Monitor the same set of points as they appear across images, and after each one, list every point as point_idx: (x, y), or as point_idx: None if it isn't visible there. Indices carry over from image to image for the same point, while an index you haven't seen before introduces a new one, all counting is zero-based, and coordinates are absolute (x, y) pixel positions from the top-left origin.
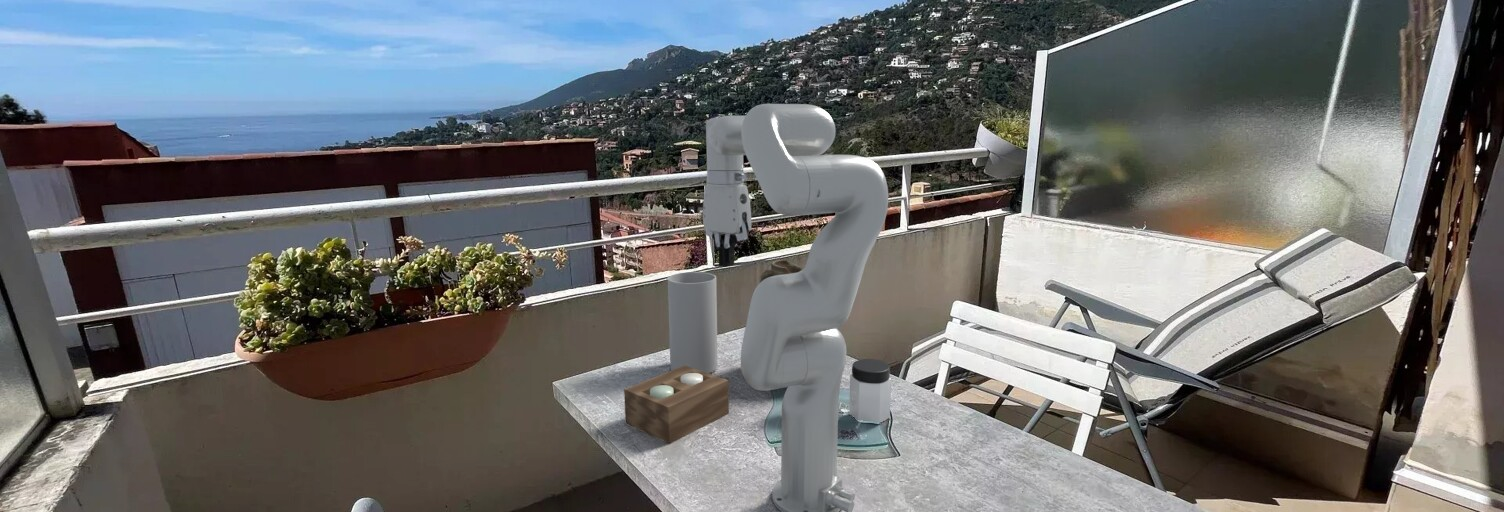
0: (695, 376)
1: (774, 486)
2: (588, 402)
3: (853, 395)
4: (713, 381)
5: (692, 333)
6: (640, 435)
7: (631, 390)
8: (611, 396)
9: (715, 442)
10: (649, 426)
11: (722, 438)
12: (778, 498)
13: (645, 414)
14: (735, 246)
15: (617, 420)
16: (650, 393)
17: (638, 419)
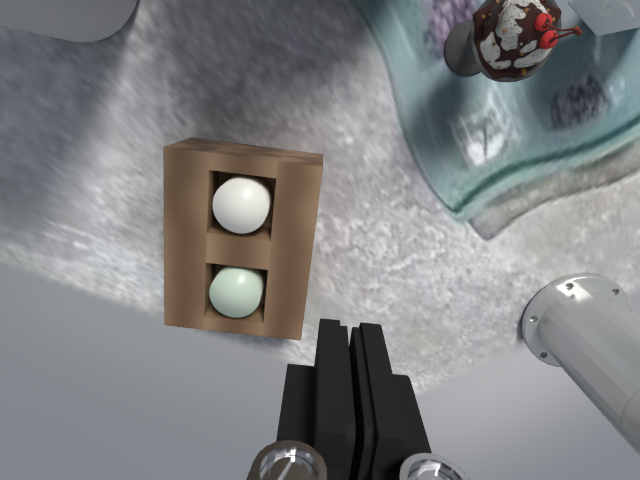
0: (244, 198)
1: (526, 334)
2: (59, 263)
3: (619, 10)
4: (296, 193)
5: (44, 4)
6: None
7: (181, 321)
8: (67, 220)
9: (367, 260)
10: None
11: (370, 243)
12: (541, 352)
13: None
14: (444, 462)
15: None
16: (225, 313)
17: None
